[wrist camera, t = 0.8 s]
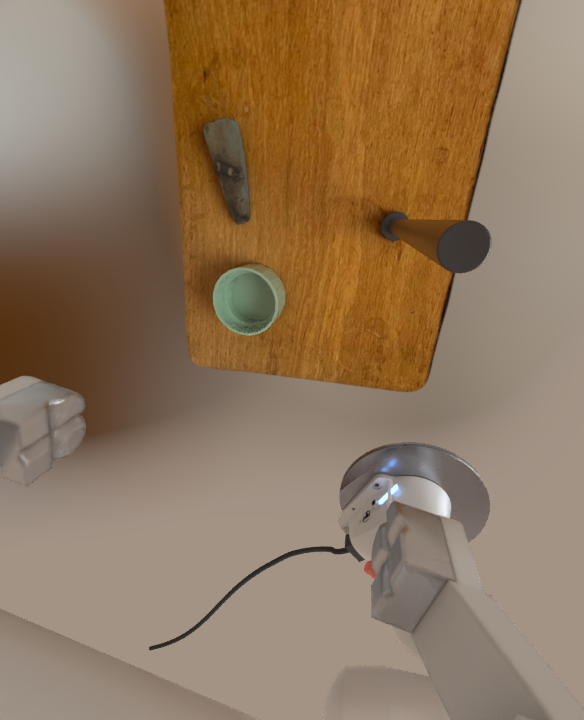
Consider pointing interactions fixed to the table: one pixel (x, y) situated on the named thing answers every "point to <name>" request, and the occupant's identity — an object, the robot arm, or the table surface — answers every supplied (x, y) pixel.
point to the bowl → (249, 298)
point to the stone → (230, 165)
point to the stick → (442, 240)
